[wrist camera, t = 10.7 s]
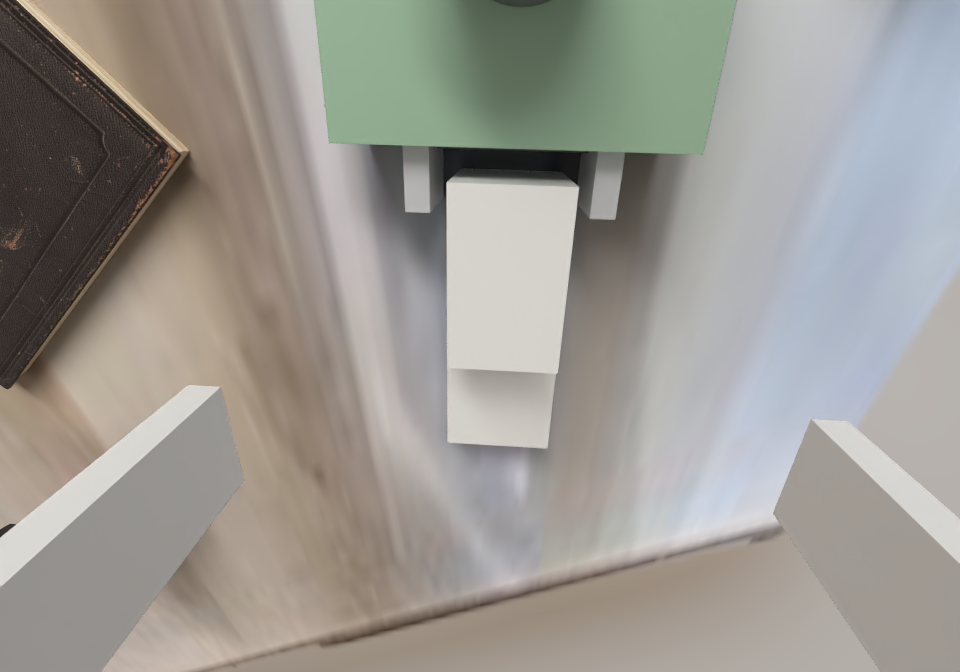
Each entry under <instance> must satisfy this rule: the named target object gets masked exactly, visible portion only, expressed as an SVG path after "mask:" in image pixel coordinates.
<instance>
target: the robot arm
mask: <svg viewBox="0 0 960 672" xmlns="http://www.w3.org/2000/svg"><path fill="white" fill-rule="evenodd" d="M243 481H244V477H243V473H242V469H241V465H240V461H239V457H238V453H237V449H236V445H235V441H234V437H233V433H232V429H231V425H230V421H229V417H228V413H227V410H226V406H225V402H224V398H223V394H222V390H221V387H213V386H194V385H188V386H187V387H185V388H184V389H183V390H182V391H180V392H179V393H178V394H177V395H176V396H174V397H173V398H172V399H171V400H169V401H168V402H167V403H166V404H164V405H163V406H162V407H161V408H159V409H158V410H157V411H156V412H155V413H153V414H152V415H151V416H150V417H148V418H147V419H146V420H145V421H143V422H142V423H141V424H140V425H139V426H137V427H136V428H135V429H134V430H132V431H131V432H130V433H129V434H127V435H126V436H125V437H124V438H122V439H121V440H120V441H119V442H118V443H116V444H115V445H114V446H113V447H111V448H110V449H109V450H108V451H106V452H105V453H104V454H103V455H102V456H100V457H99V458H98V459H97V460H95V461H94V462H93V463H92V464H90V465H89V466H88V467H87V468H85V469H84V470H83V471H82V472H81V473H79V474H78V475H77V476H76V477H74V478H73V479H72V480H71V481H69V482H68V483H67V484H66V485H65V486H63V487H62V488H61V489H60V490H58V491H57V492H56V493H55V494H53V495H52V496H51V497H50V498H48V499H47V500H46V501H45V502H44V503H42V504H41V505H40V506H39V507H37V508H36V509H35V510H34V511H32V512H31V513H30V514H29V515H28V516H26V517H25V518H24V519H23V520H21V521H20V522H19V523H18V524H9V525H7V526H5V527H4V528H2V529H0V672H101V671H102V670H103V668H104V667H105V666H106V664H107V663H108V662H109V660H110V659H111V658H112V656H113V655H114V654H115V652H116V651H117V650H118V648H119V647H120V646H121V644H122V643H123V642H124V640H125V639H126V638H127V636H128V635H129V634H130V632H131V631H132V630H133V628H134V627H135V626H136V624H137V623H138V622H139V620H140V619H141V617H142V616H143V615H144V613H145V612H146V611H147V609H148V608H149V607H150V605H151V604H152V603H153V601H154V600H155V599H156V597H157V596H158V595H159V593H160V592H161V591H162V589H163V588H164V587H165V585H166V584H167V583H168V581H169V580H170V579H171V577H172V576H173V575H174V573H175V572H176V571H177V569H178V568H179V567H180V565H181V564H182V563H183V561H184V560H185V559H186V557H187V556H188V555H189V553H190V552H191V551H192V549H193V548H194V547H195V545H196V544H197V542H198V541H199V540H200V538H201V537H202V536H203V534H204V533H205V532H206V530H207V529H208V528H209V526H210V525H211V524H212V522H213V521H214V520H215V518H216V517H217V516H218V514H219V513H220V512H221V510H222V509H223V508H224V506H225V505H226V504H227V502H228V501H229V500H230V498H231V497H232V496H233V494H234V493H235V492H236V490H237V489H238V488H239V486H240V485H241V484H242V482H243ZM773 514H774V515H775V517H776V518H777V520H778V521H779V523H780V524H781V526H782V527H783V529H784V530H785V532H786V533H787V535H788V536H789V538H790V539H791V540H792V542H793V543H794V545H795V546H796V548H797V549H798V551H799V552H800V554H801V555H802V556H803V558H804V559H805V561H806V563H807V564H808V565H809V567H810V568H811V570H812V571H813V573H814V574H815V576H816V577H817V579H818V580H819V581H820V583H821V585H822V586H823V588H824V589H825V591H826V592H827V593H828V595H829V596H830V598H831V599H832V601H833V602H834V604H835V605H836V607H837V608H838V610H839V611H840V613H841V614H842V615H843V617H844V619H845V620H846V621H847V623H848V624H849V626H850V627H851V629H852V630H853V632H854V633H855V635H856V636H857V638H858V639H859V640H860V642H861V644H862V645H863V646H864V648H865V649H866V651H867V652H868V654H869V655H870V657H871V658H872V660H873V661H874V663H875V664H876V666H877V667H878V669H879V670H880V671H881V672H960V519H959V518H958V517H957V516H956V515H955V514H953V513H952V512H951V511H950V510H949V509H948V508H947V507H945V506H944V505H943V504H942V503H941V502H940V501H938V500H937V499H936V498H935V497H934V496H933V495H932V494H931V493H929V492H928V491H927V490H926V489H925V488H924V487H923V486H921V485H920V484H919V483H918V482H917V481H916V480H915V479H913V478H912V477H911V476H910V475H909V474H908V473H907V472H905V471H904V470H903V469H902V468H901V467H900V466H899V465H897V464H896V463H895V462H894V461H893V460H892V459H891V458H889V457H888V456H887V455H886V454H885V453H884V452H883V451H881V450H880V449H879V448H878V447H877V446H876V445H875V444H873V443H872V442H871V441H870V440H869V439H868V438H867V437H865V436H864V435H863V434H862V433H861V432H860V431H859V430H857V429H856V428H855V427H854V426H853V425H852V424H851V423H849V422H848V421H838V420H820V419H811V421H810V423H809V426H808V428H807V431H806V433H805V436H804V438H803V441H802V443H801V445H800V448H799V450H798V453H797V455H796V458H795V460H794V463H793V465H792V468H791V470H790V473H789V475H788V477H787V480H786V482H785V485H784V487H783V490H782V492H781V495H780V497H779V500H778V502H777V505H776V507H775V509H774V512H773Z"/></svg>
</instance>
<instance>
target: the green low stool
mask: <svg viewBox="0 0 960 672" xmlns="http://www.w3.org/2000/svg"><path fill="white" fill-rule="evenodd" d="M736 2H737V0H314V5H315V15H316V24H317V34H318V43H319V52H320V62H321V71H322V81H323V90H324V100H325V109H326V119H327V128H328V138H329V143H341V144H373V145H402V150H403V174H404V197H405V212H417V213H430V212H431V211H432V210H433V209H434V208H435V207H436V206H437V205H438V203H439V202H440V201H441V200H442V199H443V198H444V194H443V149H473V150H505V151H538V152H570V153H581V158H580V167H579V176H578V185H577V186H578V187H579V193H578V201H577V205H578V206H579V207H580V208H581V210H582V211H583V212H584V213H585V214H586V215H587V216H588V218H589V219H606V220H615V218H616V211H617V205H618V198H619V191H620V185H621V178H622V171H623V165H624V158H625V152H632V153H664V154H697V155H703V153H704V148H705V144H706V139H707V135H708V130H709V126H710V121H711V116H712V112H713V107H714V103H715V98H716V94H717V89H718V84H719V80H720V75H721V71H722V66H723V61H724V57H725V52H726V48H727V43H728V39H729V34H730V29H731V25H732V20H733V16H734V11H735V6H736Z"/></svg>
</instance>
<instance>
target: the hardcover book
mask: <svg viewBox="0 0 960 672" xmlns="http://www.w3.org/2000/svg"><path fill="white" fill-rule="evenodd" d="M188 153H189V150H188V149H187V148H186V147H185V146H184V145H183V144H182V143H181V142H180V141H179V140H178V139H177V138H175V137H174V136H173V135H172V134H171V133H170V132H169V131H168V130H167V129H166V128H165V127H164V126H163V125H162V124H161V123H160V122H159V121H158V120H156V119H155V118H154V117H153V116H152V115H151V114H150V113H149V112H148V111H147V110H146V109H145V108H144V107H143V106H142V105H141V104H140V103H139V102H137V101H136V100H135V99H134V98H133V97H132V96H131V95H130V94H129V93H128V92H127V91H126V90H125V89H124V88H123V87H122V86H121V85H119V84H118V83H117V82H116V81H115V80H114V79H113V78H112V77H111V76H110V75H109V74H108V73H107V72H106V71H105V70H104V69H103V68H102V67H100V66H99V65H98V64H97V63H96V62H95V61H94V60H93V59H92V58H91V57H90V56H89V55H88V54H87V53H86V52H85V51H84V50H83V49H81V48H80V47H79V46H78V45H77V44H76V43H75V42H74V41H73V40H72V39H71V38H70V37H69V36H68V35H67V34H66V33H65V32H63V31H62V30H61V29H60V28H59V27H58V26H57V25H56V24H55V23H54V22H53V21H52V20H51V19H50V18H49V17H48V16H47V15H46V14H44V13H43V12H42V11H41V10H40V9H39V8H38V7H37V6H36V5H35V4H34V3H33V2H32V1H31V0H0V385H1V386H3V387H4V388H5V389H9V388H11V387H12V386H13V384H14V383H15V382H16V380H17V379H18V377H19V376H20V375H22V374H23V373H25V372H27V370H28V369H29V368H30V366H31V365H32V364H33V362H34V361H35V360H36V358H37V357H38V356H39V354H40V353H41V351H42V350H43V349H44V347H45V346H46V345H47V343H48V342H49V341H50V339H51V338H52V337H53V335H54V334H55V333H56V331H57V330H58V329H59V327H60V326H61V324H62V323H63V322H64V320H65V319H66V318H67V316H68V315H69V314H70V312H71V311H72V310H73V308H74V307H75V306H76V304H77V303H78V301H79V300H80V299H81V297H82V296H83V295H84V293H85V292H86V291H87V289H88V288H89V287H90V285H91V284H92V283H93V281H94V280H95V279H96V277H97V276H98V274H99V273H100V272H101V270H102V269H103V268H104V266H105V265H106V264H107V262H108V261H109V260H110V258H111V257H112V256H113V254H114V253H115V251H116V250H117V249H118V247H119V246H120V245H121V243H122V242H123V241H124V239H125V238H126V237H127V235H128V234H129V233H130V231H131V230H132V229H133V227H134V226H135V224H136V223H137V222H138V220H139V219H140V218H141V216H142V215H143V214H144V212H145V211H146V210H147V208H148V207H149V206H150V204H151V203H152V201H153V200H154V199H155V197H156V196H157V195H158V193H159V192H160V191H161V189H162V188H163V187H164V185H165V184H166V183H167V181H168V180H169V179H170V177H171V176H172V174H173V173H174V172H175V170H176V169H177V168H178V166H179V165H180V164H181V162H182V161H183V160H184V158H185V157H186V156H187V154H188Z"/></svg>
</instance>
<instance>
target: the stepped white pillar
mask: <svg viewBox="0 0 960 672" xmlns="http://www.w3.org/2000/svg"><path fill="white" fill-rule="evenodd" d="M446 190H447V427H448V443H462V444H479V445H496V446H513V447H530V448H548V439H549V430H550V421H551V413H552V404H553V395H554V386H555V377H556V374H558V367H559V358H560V350H561V341H562V332H563V324H564V315H565V306H566V297H567V289H568V280H569V271H570V262H571V254H572V245H573V236H574V228H575V219H576V210H577V201H578V193H579V187H578V186H577V185H576V184H575V183H574V182H573V181H571V180H570V179H569V178H568V177H567V176H566V175H565V174H563V173H562V172H552V171H522V170H493V169H463V168H462V169H461V170H460V171H459V172H457V173H456V174H455V175H454V176H453V177H452V178H451V179H450V180H449V181H448V182H446Z"/></svg>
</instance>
